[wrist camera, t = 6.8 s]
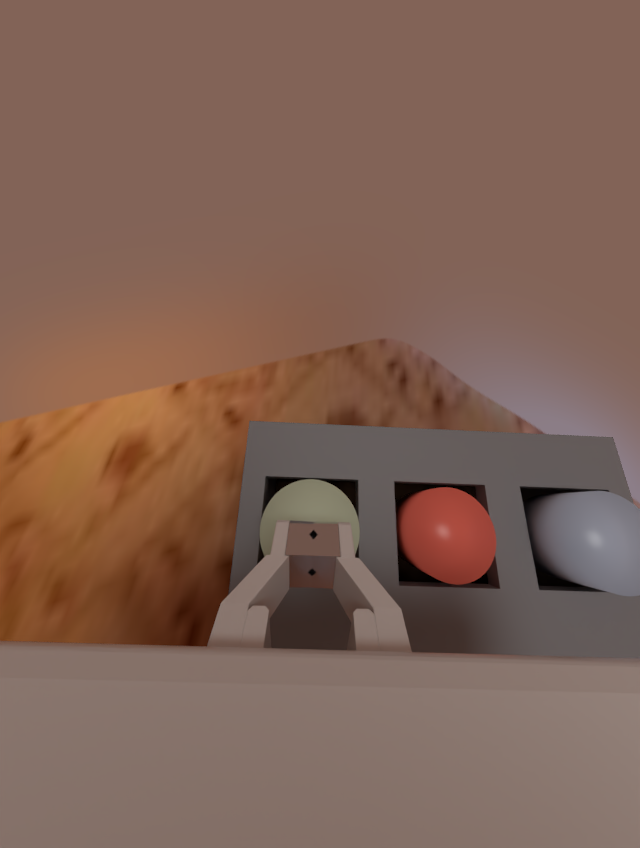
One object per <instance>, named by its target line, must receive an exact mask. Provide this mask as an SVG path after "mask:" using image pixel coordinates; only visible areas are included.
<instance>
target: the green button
mask: <svg viewBox="0 0 640 848" xmlns="http://www.w3.org/2000/svg"><path fill="white" fill-rule="evenodd" d="M277 520H289V521H290V520H293V521H309V522H350V524H351V528H352V536H353V544H354V552H355V554H356V551H357V548H358V544H359V537H360V528H359V521H358V517H357V513H356V511H355V509H354V506H353V505H352V503H351V501H350V500H349V499H348V497H347V496H346V495H345V494H344V493H343V492H342V491H341V490H340V489H338V488H337V487H335V486H334V485H332V484H330V483H327V482H325V481H321V480H315V479H305V480H299V481H296V482H293V483H291V484H289V485H287V486H285V487H284V488H282V489H281V490H280V491H278V492H277V493H276V494H275V495H274V496H273V498H272V499H271V500H270V502H269V503H268V505H267V507H266V508H265V511H264V513H263V516H262V519H261V524H260V543H261V548H262V551H263V554H264V557H265V556H266V555H270V553H271V548H272V542H273V537H274V532H275V527H276V522H277Z"/></svg>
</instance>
